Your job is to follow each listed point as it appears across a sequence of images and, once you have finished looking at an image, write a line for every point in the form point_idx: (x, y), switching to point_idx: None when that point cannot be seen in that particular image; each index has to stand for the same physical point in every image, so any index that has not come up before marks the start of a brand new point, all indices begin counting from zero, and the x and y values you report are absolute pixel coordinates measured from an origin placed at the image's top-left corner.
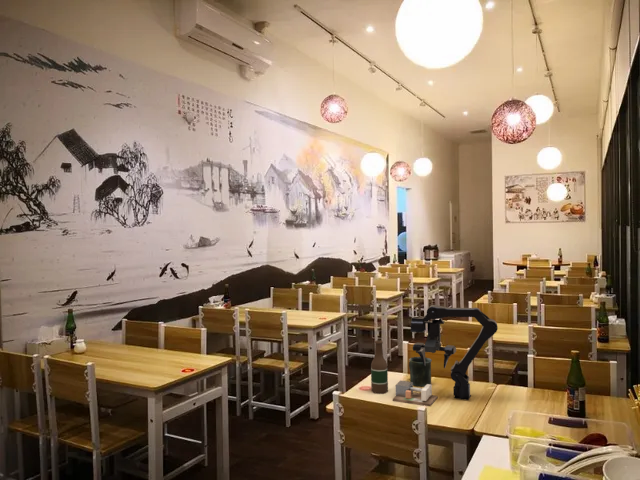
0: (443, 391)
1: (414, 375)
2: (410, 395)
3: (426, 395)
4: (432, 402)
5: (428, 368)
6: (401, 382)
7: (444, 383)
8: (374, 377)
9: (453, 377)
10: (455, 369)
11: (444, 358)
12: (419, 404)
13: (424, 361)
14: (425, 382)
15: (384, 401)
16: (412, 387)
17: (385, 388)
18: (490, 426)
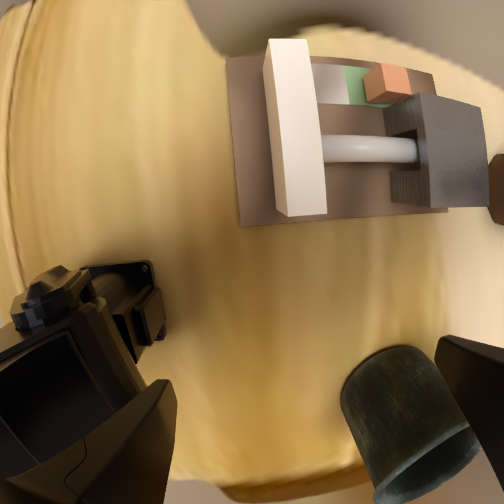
0: (250, 349)
1: (434, 372)
2: (371, 81)
3: (266, 71)
4: (229, 101)
5: (379, 445)
6: (477, 169)
7: (285, 437)
8: None
9: (71, 285)
10: (19, 342)
11: (81, 485)
12: None
13: (476, 368)
14: (366, 376)
15: (444, 64)
16: (404, 144)
17: (498, 175)
18: None
